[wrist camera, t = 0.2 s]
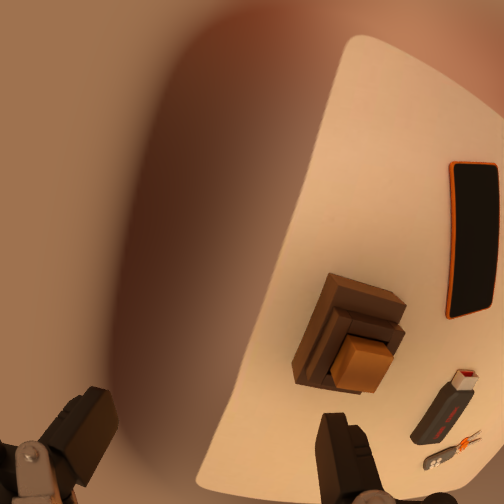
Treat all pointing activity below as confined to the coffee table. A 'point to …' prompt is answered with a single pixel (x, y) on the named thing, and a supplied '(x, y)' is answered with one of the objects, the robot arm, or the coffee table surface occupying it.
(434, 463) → the key chain
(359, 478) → the robot arm
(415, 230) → the coffee table surface
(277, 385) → the coffee table surface
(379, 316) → the block
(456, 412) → the usb drive
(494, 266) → the smartphone
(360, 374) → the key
